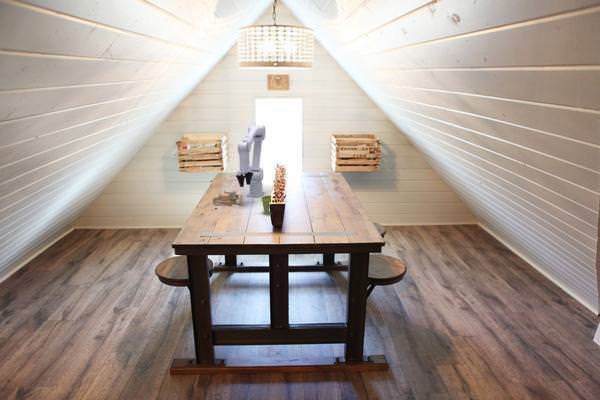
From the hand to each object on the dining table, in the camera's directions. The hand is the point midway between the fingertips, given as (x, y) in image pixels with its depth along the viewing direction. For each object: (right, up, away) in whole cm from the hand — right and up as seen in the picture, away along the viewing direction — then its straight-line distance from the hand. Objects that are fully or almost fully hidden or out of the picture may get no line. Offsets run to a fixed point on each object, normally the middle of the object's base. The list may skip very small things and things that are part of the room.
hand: (245, 185), depth 265 cm
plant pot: (+15, -16, -12) cm, 25 cm away
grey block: (-10, -8, +12) cm, 17 cm away
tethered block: (-8, -11, +4) cm, 14 cm away
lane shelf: (-11, -9, +8) cm, 17 cm away
